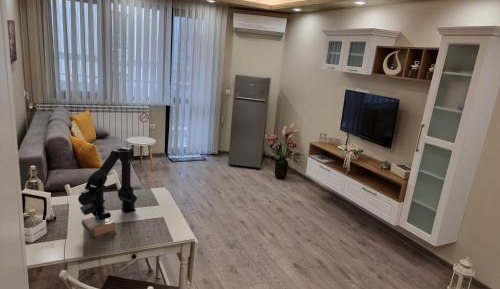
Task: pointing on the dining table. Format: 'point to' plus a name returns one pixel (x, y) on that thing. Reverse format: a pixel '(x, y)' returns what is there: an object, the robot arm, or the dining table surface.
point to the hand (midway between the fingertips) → (98, 223)
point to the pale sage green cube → (100, 221)
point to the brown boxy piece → (100, 228)
